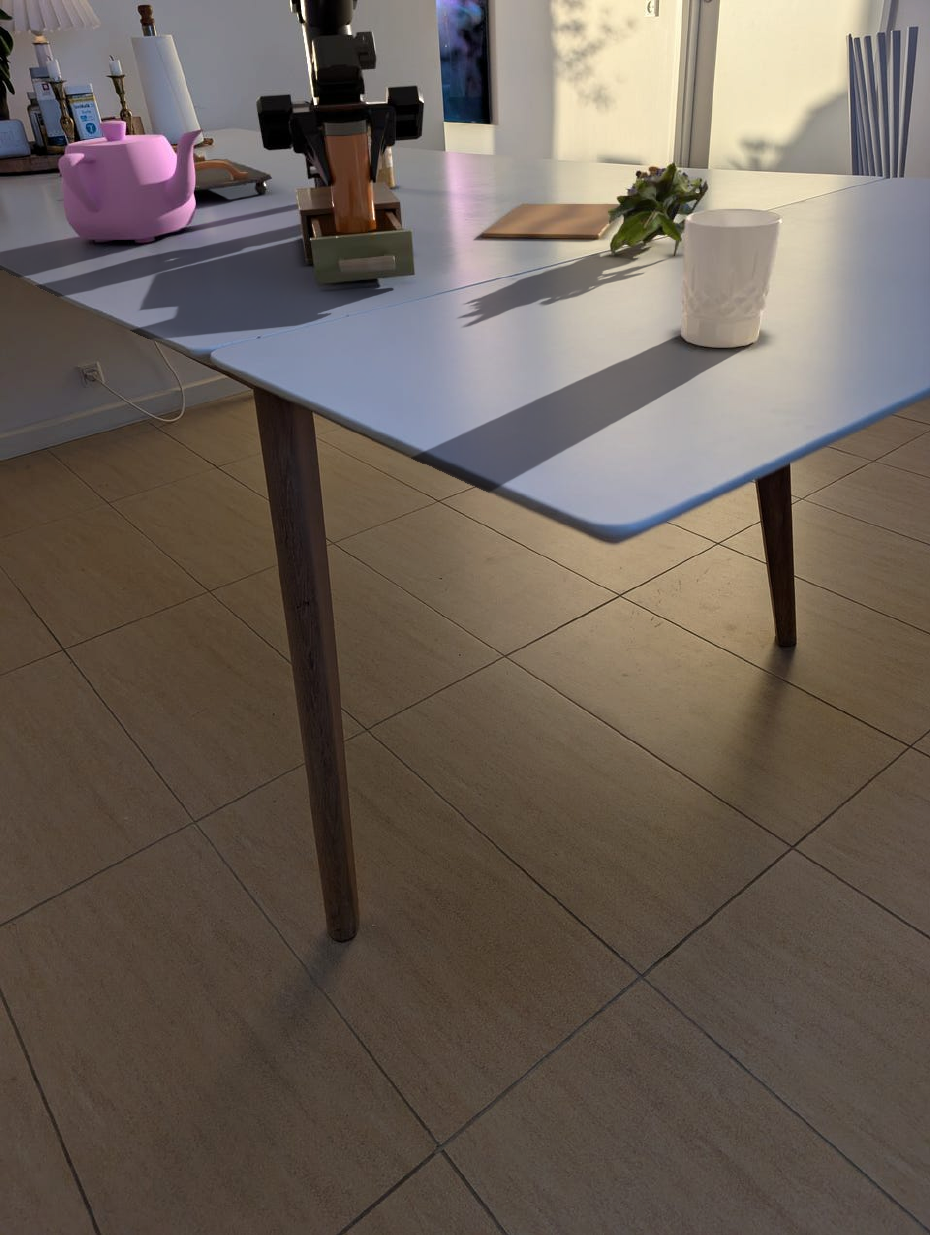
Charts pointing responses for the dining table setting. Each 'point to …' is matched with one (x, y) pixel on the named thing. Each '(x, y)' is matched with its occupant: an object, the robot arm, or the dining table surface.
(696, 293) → the white cup
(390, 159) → the sprinkles bottle
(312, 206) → the cabinet
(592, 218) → the wooden cutting board
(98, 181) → the teapot
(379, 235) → the drawer
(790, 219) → the dining table surface
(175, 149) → the serving tray
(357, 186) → the spice bottle
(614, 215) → the green leafy plant
